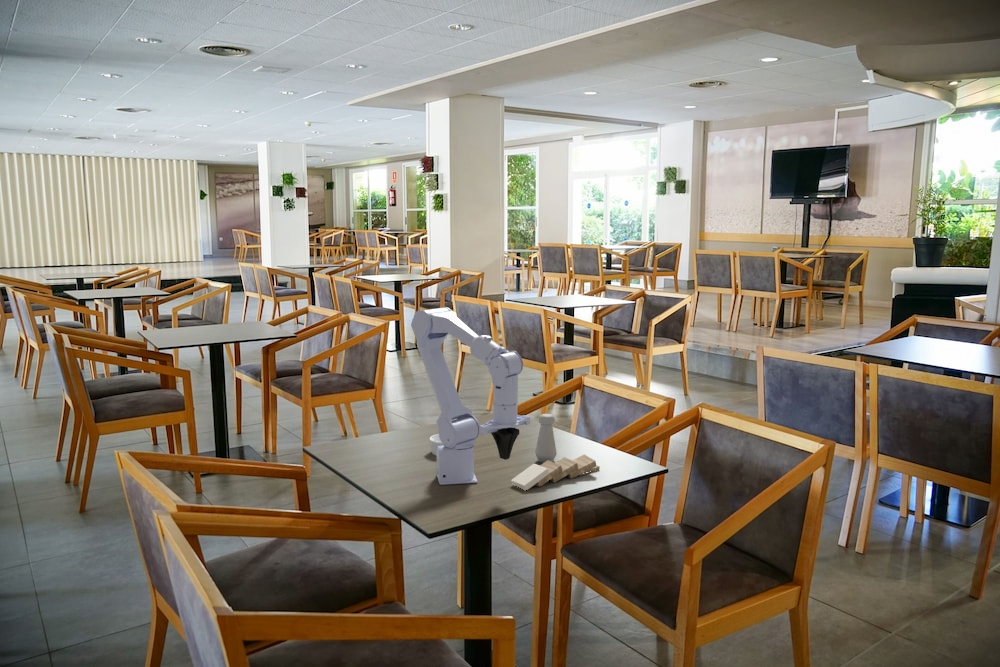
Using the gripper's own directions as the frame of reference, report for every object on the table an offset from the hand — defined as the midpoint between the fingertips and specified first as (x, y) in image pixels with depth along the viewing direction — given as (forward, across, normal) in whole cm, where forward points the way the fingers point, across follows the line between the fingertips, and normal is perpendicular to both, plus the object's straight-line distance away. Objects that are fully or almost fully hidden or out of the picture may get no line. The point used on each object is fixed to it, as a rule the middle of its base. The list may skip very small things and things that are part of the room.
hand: (504, 458), depth 184 cm
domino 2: (+8, +14, 0) cm, 16 cm away
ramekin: (+9, +8, +34) cm, 36 cm away
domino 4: (+9, +23, -1) cm, 24 cm away
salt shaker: (+9, +24, +10) cm, 28 cm away
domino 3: (+8, +20, -1) cm, 21 cm away
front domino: (+8, +5, 0) cm, 9 cm away
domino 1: (+8, +9, 0) cm, 12 cm away
